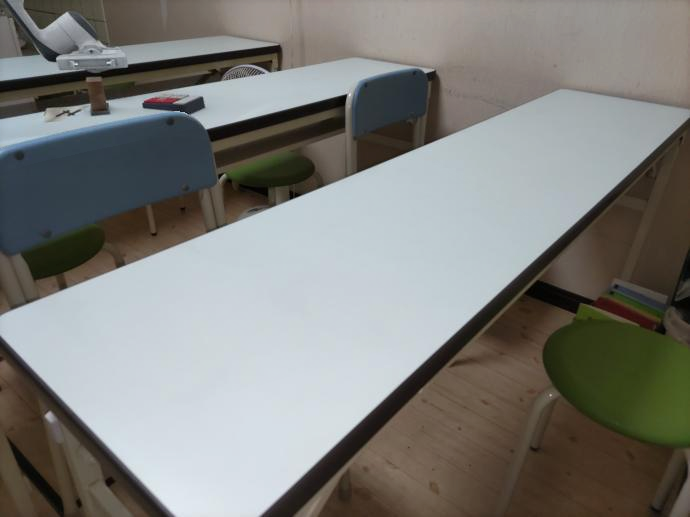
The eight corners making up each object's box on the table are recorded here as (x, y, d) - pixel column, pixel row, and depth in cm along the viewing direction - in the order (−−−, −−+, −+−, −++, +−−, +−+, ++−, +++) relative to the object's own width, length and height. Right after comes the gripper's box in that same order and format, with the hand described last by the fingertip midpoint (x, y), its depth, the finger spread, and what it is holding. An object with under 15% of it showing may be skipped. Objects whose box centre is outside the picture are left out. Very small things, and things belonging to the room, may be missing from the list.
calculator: (162, 92, 162) (203, 93, 158) (165, 106, 164) (205, 107, 160) (140, 100, 153) (183, 102, 149) (143, 114, 156) (186, 116, 151)
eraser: (91, 116, 146) (84, 83, 141) (91, 107, 154) (84, 75, 149) (110, 115, 148) (103, 82, 143) (109, 106, 155) (103, 75, 151)
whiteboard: (42, 127, 140) (41, 122, 139) (46, 111, 152) (45, 107, 152) (120, 121, 147) (119, 117, 146) (118, 107, 159) (117, 103, 159)
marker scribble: (55, 116, 144) (55, 115, 144) (56, 111, 149) (56, 110, 149) (80, 115, 147) (80, 114, 147) (81, 110, 151) (80, 109, 151)
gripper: (54, 48, 160) (52, 56, 150) (124, 46, 168) (126, 54, 157) (59, 69, 164) (57, 78, 153) (127, 66, 171) (130, 75, 160)
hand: (93, 66), depth 155 cm, fingers open, 8 cm apart
